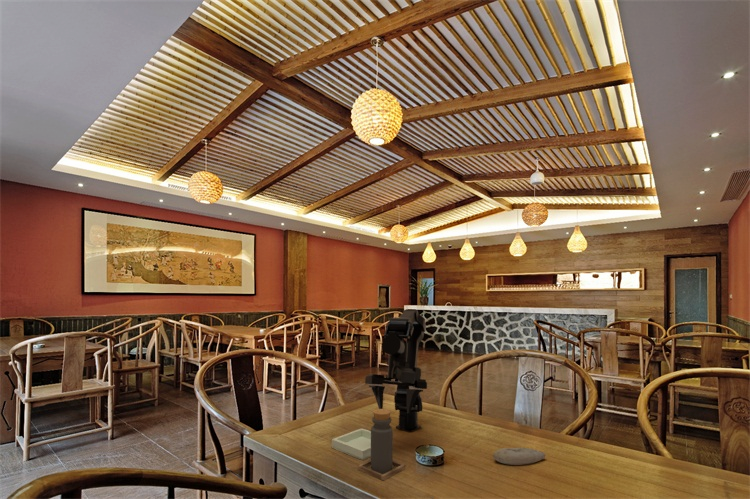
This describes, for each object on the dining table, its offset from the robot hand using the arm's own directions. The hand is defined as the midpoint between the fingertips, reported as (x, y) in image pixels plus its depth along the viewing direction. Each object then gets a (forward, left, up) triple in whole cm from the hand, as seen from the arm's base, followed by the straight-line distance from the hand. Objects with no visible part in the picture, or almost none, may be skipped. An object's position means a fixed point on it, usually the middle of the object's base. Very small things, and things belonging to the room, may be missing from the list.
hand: (394, 412), depth 121 cm
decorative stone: (-18, +30, -12) cm, 37 cm away
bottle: (+12, +5, -11) cm, 17 cm away
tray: (+5, -9, -11) cm, 15 cm away
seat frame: (+12, +5, -11) cm, 17 cm away
